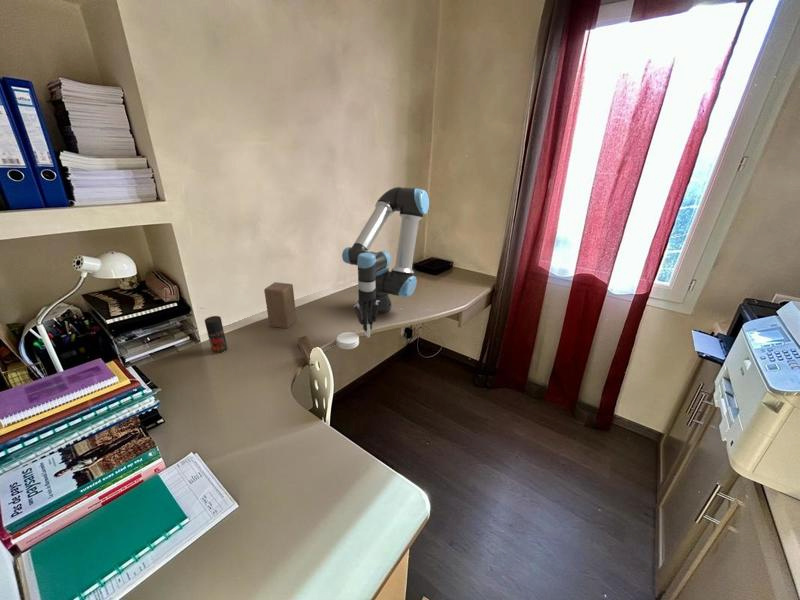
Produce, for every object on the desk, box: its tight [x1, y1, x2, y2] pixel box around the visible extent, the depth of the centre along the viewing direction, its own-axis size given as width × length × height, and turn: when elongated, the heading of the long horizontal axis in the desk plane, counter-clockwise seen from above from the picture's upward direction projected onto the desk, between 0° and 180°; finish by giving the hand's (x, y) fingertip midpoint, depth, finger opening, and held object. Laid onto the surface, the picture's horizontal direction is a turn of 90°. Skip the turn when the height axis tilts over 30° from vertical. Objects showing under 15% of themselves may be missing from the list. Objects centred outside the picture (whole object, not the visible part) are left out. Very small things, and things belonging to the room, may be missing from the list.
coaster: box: [335, 331, 360, 350], centre depth 151 cm, size 10×10×4 cm
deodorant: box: [204, 315, 228, 354], centre depth 141 cm, size 6×6×15 cm
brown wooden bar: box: [297, 335, 314, 366], centre depth 143 cm, size 4×18×4 cm, turn 28°
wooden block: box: [263, 282, 297, 329], centre depth 163 cm, size 10×10×20 cm
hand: (367, 335), depth 155 cm, fingers closed
